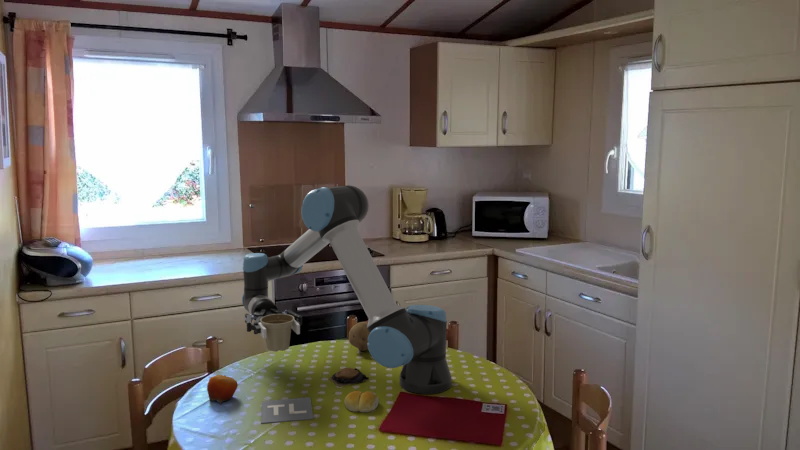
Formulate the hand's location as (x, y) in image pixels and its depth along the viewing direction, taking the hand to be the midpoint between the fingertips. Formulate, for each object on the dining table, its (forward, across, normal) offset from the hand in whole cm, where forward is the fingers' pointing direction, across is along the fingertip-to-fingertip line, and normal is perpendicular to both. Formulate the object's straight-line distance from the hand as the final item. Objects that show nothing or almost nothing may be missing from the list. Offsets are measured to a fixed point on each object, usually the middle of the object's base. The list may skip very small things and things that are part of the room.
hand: (281, 331), depth 169 cm
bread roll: (+16, -17, -19) cm, 30 cm away
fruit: (-4, +16, -19) cm, 25 cm away
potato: (-24, -33, -18) cm, 45 cm away
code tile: (+10, +2, -18) cm, 21 cm away
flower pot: (-5, 0, -6) cm, 8 cm away
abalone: (-3, -21, -19) cm, 28 cm away
